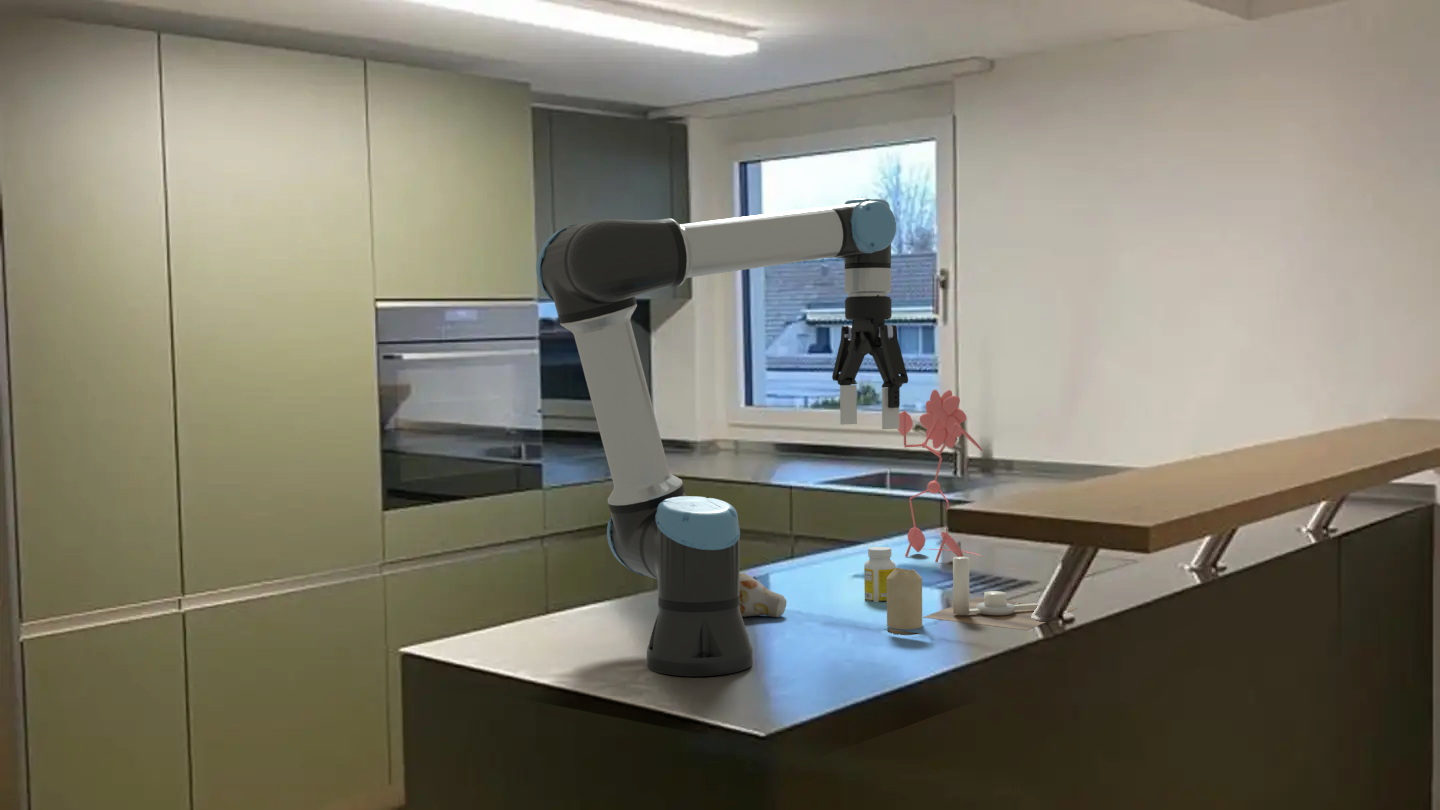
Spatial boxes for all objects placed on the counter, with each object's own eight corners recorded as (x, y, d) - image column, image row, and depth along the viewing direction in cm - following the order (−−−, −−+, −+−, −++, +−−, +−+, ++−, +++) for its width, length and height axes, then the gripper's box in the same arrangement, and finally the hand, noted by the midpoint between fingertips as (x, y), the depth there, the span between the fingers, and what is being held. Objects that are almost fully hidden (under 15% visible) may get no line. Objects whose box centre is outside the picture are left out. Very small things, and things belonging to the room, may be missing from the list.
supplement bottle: (900, 602, 242) (899, 546, 242) (890, 608, 237) (890, 551, 237) (870, 600, 245) (869, 545, 244) (860, 606, 240) (859, 549, 239)
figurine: (962, 568, 276) (964, 391, 275) (876, 552, 297) (877, 388, 296) (1016, 561, 285) (1018, 390, 284) (929, 547, 306) (931, 387, 305)
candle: (928, 630, 220) (927, 567, 219) (912, 636, 215) (912, 572, 215) (897, 626, 223) (896, 564, 222) (880, 633, 218) (880, 569, 218)
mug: (788, 623, 228) (757, 572, 227) (739, 645, 232) (708, 595, 230) (798, 603, 235) (768, 554, 234) (750, 625, 239) (720, 576, 237)
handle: (961, 617, 222) (961, 561, 222) (946, 610, 228) (946, 555, 228) (1046, 612, 226) (1045, 556, 226) (1029, 605, 232) (1028, 551, 231)
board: (1027, 636, 214) (1027, 628, 214) (922, 623, 225) (922, 615, 225) (1077, 614, 230) (1077, 606, 230) (977, 602, 241) (977, 595, 241)
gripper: (929, 293, 216) (930, 429, 217) (850, 297, 238) (851, 421, 240) (887, 293, 213) (888, 431, 214) (811, 297, 235) (812, 423, 237)
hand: (869, 426), depth 227 cm, fingers open, 13 cm apart
